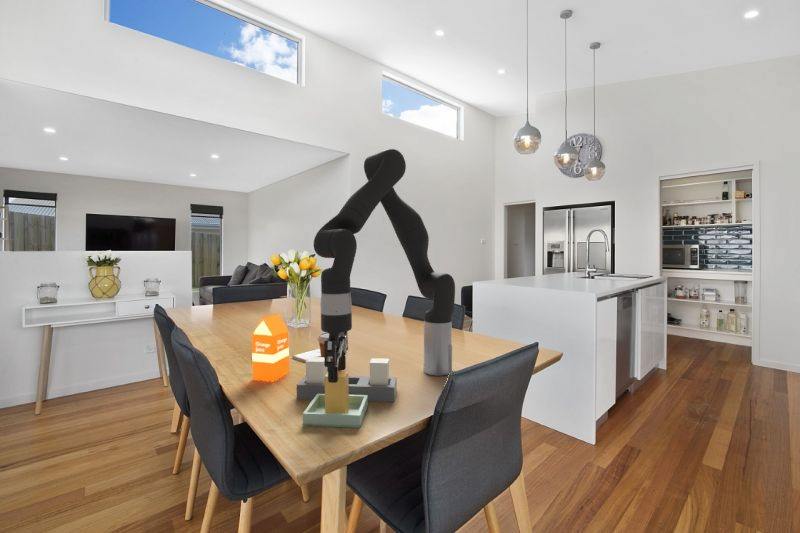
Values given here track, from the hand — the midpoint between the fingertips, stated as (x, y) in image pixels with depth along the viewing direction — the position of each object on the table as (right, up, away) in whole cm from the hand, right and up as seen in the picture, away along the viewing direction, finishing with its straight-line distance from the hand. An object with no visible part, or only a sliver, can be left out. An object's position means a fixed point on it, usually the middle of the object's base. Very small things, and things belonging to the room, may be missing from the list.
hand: (337, 375), depth 91 cm
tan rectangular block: (0, -10, +1) cm, 10 cm away
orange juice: (-26, -9, +28) cm, 40 cm away
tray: (0, -10, +1) cm, 10 cm away
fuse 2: (+10, -9, +13) cm, 19 cm away
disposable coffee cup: (-8, -8, +35) cm, 37 cm away
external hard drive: (-18, -8, +50) cm, 53 cm away
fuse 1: (-8, -9, +14) cm, 19 cm away
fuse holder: (+1, -9, +14) cm, 16 cm away
